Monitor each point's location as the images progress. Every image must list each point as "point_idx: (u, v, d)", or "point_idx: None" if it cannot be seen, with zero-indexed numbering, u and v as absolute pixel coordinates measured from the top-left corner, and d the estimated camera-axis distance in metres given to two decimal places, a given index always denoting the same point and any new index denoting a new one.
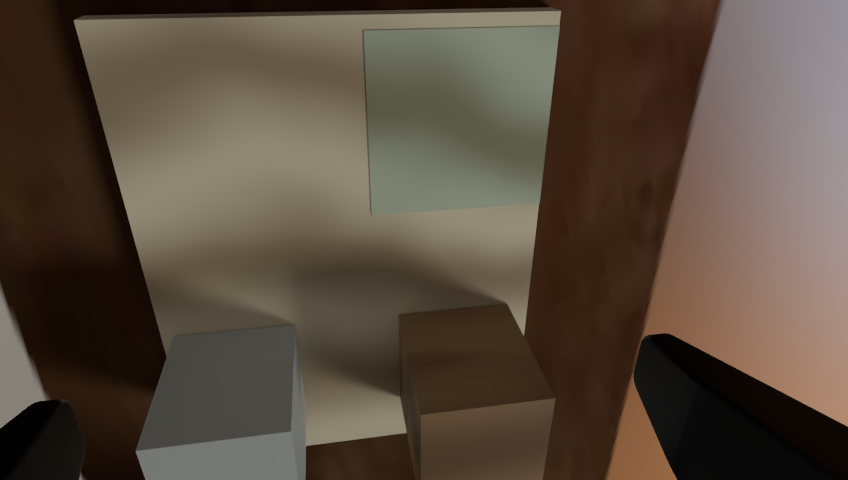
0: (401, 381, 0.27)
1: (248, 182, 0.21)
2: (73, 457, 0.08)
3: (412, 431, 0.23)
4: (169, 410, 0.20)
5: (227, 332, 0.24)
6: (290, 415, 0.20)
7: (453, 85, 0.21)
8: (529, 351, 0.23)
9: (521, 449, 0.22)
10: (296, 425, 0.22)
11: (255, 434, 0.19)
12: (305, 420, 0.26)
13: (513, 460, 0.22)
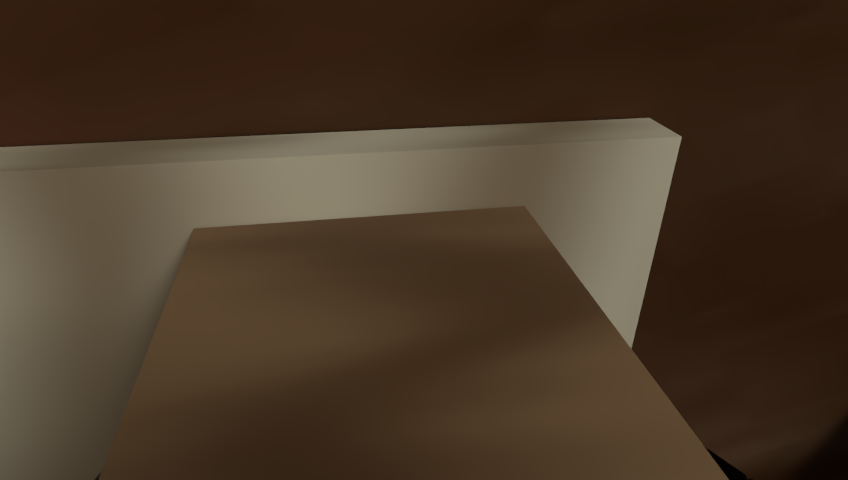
0: None
1: None
2: None
3: None
4: None
5: None
6: None
7: None
8: (132, 399, 0.05)
9: None
10: None
11: None
12: None
13: None
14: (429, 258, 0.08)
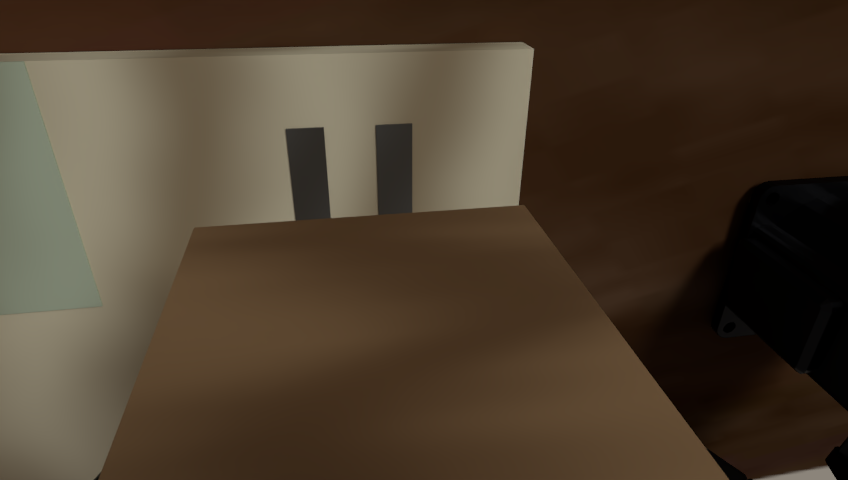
0: None
1: (83, 422, 0.19)
2: None
3: None
4: None
5: None
6: None
7: None
8: (133, 398, 0.05)
9: None
10: None
11: None
12: None
13: None
14: (428, 257, 0.08)
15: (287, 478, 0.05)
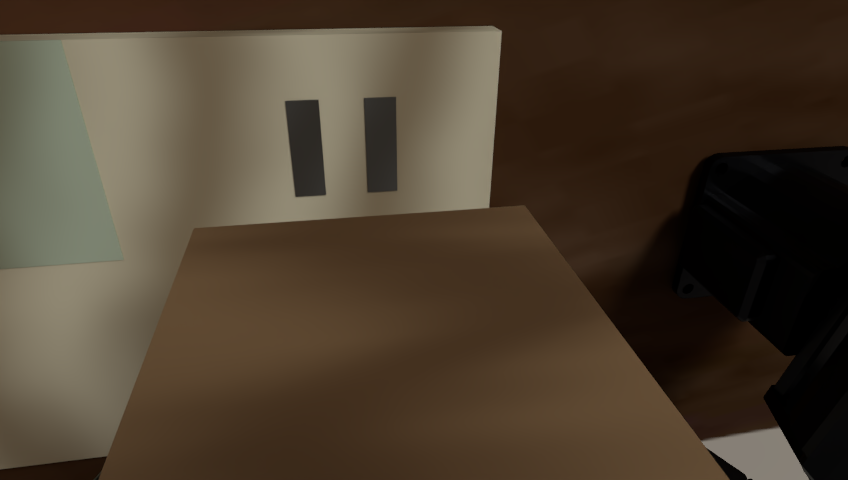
0: None
1: (104, 368, 0.21)
2: None
3: None
4: None
5: None
6: None
7: None
8: (132, 399, 0.05)
9: None
10: None
11: None
12: None
13: None
14: (429, 258, 0.08)
15: None
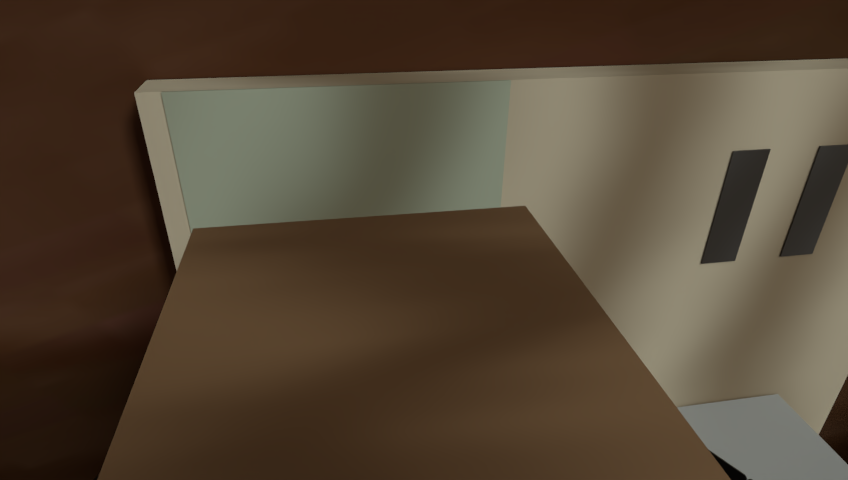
0: None
1: None
2: None
3: None
4: None
5: None
6: None
7: None
8: (130, 401, 0.05)
9: None
10: None
11: None
12: (792, 416, 0.18)
13: None
14: (429, 258, 0.08)
15: None
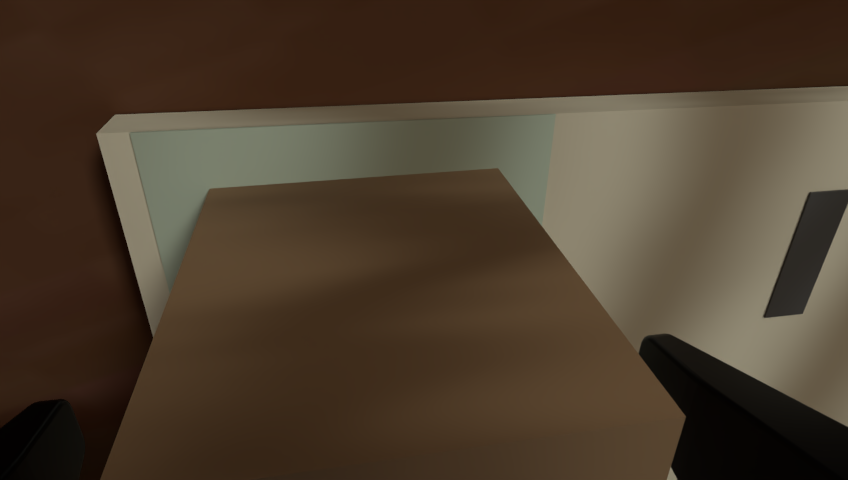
0: None
1: None
2: (73, 457, 0.08)
3: None
4: None
5: None
6: None
7: None
8: (166, 310, 0.07)
9: None
10: None
11: None
12: None
13: None
14: (412, 208, 0.09)
15: (291, 359, 0.06)
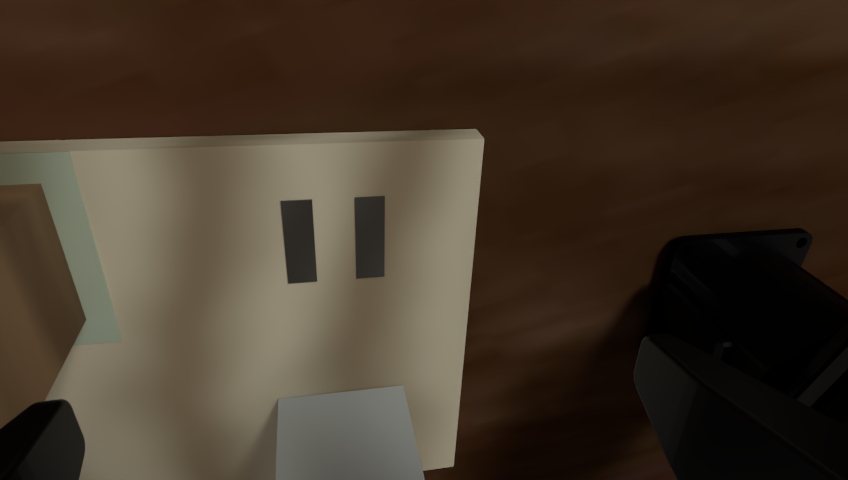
0: None
1: (100, 437, 0.22)
2: (73, 457, 0.08)
3: None
4: None
5: None
6: None
7: None
8: None
9: None
10: None
11: None
12: (400, 402, 0.23)
13: None
14: None
15: None
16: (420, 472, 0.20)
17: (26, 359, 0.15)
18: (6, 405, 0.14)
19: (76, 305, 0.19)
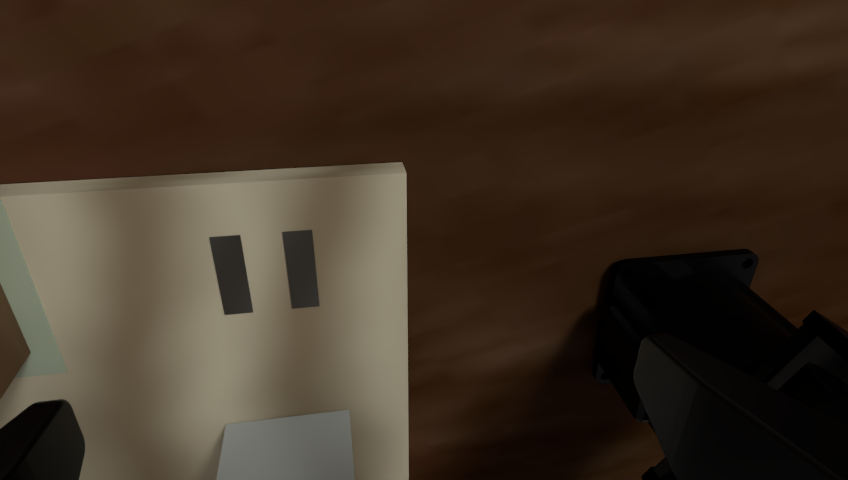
0: None
1: None
2: (73, 457, 0.08)
3: None
4: None
5: None
6: None
7: None
8: None
9: None
10: None
11: None
12: (344, 427, 0.23)
13: None
14: None
15: None
16: None
17: None
18: None
19: (18, 339, 0.19)
